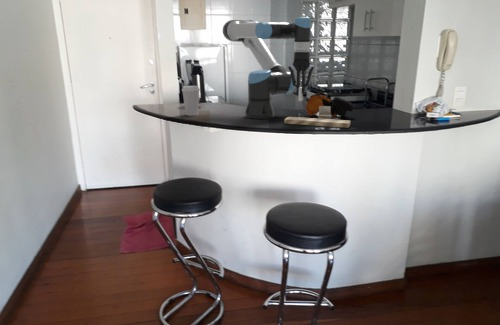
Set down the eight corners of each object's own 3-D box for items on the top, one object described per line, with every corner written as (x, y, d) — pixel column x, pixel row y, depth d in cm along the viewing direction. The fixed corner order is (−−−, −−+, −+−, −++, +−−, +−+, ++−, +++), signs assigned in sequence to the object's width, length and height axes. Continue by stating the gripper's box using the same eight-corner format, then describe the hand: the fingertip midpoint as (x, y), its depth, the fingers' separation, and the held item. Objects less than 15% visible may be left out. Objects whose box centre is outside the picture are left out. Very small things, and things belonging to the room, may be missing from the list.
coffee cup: (189, 116, 200) (187, 87, 196) (179, 114, 207) (177, 86, 203) (204, 114, 206) (203, 86, 202) (194, 112, 213) (193, 85, 209)
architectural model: (330, 122, 187) (331, 107, 185) (316, 122, 188) (317, 107, 186) (330, 121, 191) (331, 106, 188) (316, 121, 191) (316, 106, 189)
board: (284, 123, 184) (284, 119, 183) (288, 120, 190) (288, 116, 189) (348, 127, 174) (348, 123, 173) (350, 124, 180) (350, 120, 179)
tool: (341, 132, 198) (354, 105, 192) (301, 113, 202) (313, 86, 196) (342, 128, 206) (355, 103, 200) (303, 110, 209) (315, 85, 203)
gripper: (286, 51, 184) (285, 101, 191) (313, 51, 180) (311, 102, 186) (290, 51, 191) (289, 99, 198) (316, 51, 186) (314, 100, 193)
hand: (300, 100), depth 192 cm, fingers closed
